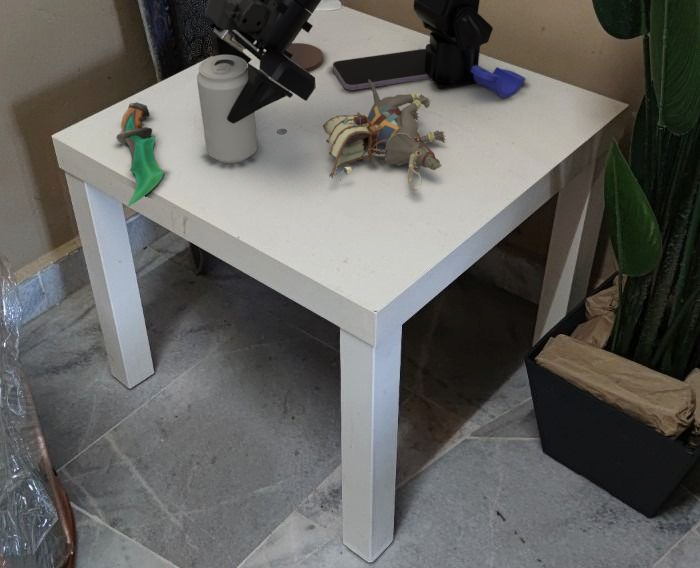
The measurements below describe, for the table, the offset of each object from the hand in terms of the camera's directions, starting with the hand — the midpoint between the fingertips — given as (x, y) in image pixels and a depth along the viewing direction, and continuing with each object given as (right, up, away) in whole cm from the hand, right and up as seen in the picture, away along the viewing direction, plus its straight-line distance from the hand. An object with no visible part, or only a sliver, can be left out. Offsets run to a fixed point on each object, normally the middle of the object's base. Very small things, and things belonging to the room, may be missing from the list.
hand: (217, 109), depth 110 cm
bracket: (+36, +8, +14) cm, 39 cm away
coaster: (+8, +11, +23) cm, 27 cm away
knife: (-8, -4, +5) cm, 10 cm away
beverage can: (+1, -5, +5) cm, 7 cm away
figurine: (+19, -5, +4) cm, 20 cm away
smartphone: (+21, +9, +20) cm, 31 cm away
